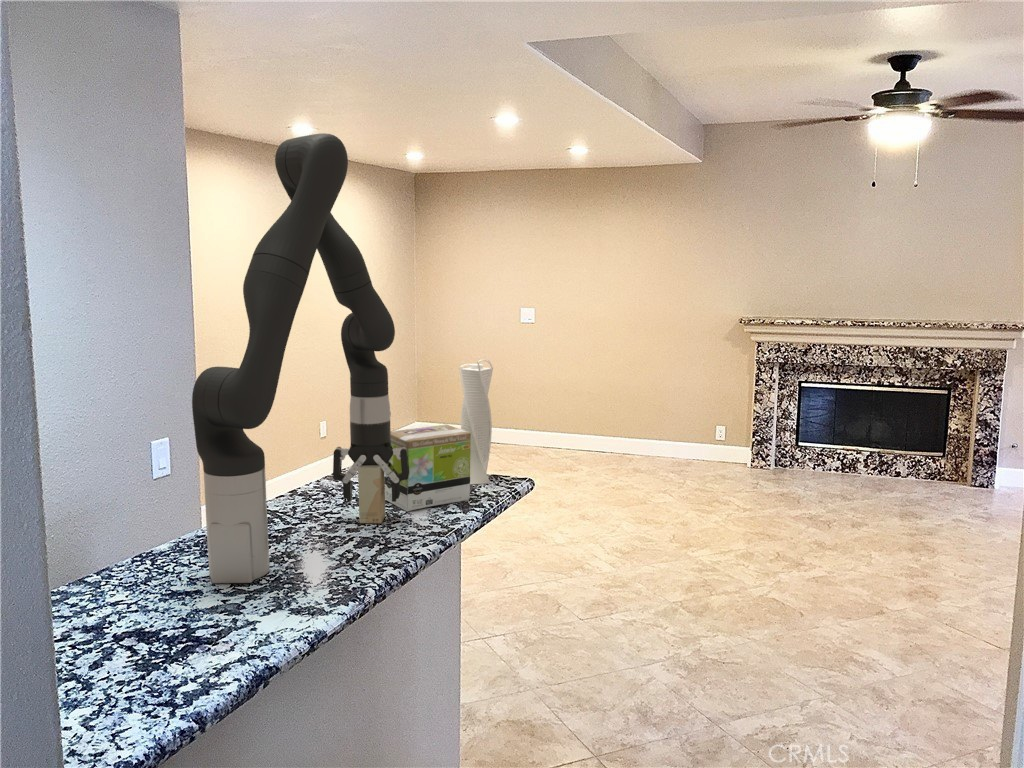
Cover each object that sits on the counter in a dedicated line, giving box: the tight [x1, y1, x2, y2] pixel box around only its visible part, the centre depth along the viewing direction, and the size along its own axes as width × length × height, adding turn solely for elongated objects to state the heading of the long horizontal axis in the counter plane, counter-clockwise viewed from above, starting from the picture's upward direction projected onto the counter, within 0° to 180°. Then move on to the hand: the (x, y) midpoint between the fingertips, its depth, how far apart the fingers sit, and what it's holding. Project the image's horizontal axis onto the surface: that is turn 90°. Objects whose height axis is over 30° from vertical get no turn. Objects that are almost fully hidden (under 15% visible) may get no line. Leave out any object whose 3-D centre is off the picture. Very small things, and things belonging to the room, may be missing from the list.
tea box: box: [384, 424, 471, 512], centre depth 171 cm, size 15×10×15 cm
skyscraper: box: [458, 358, 494, 486], centre depth 184 cm, size 8×8×28 cm
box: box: [357, 465, 386, 524], centre depth 159 cm, size 5×4×11 cm
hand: (372, 500), depth 159 cm, fingers open, 8 cm apart
